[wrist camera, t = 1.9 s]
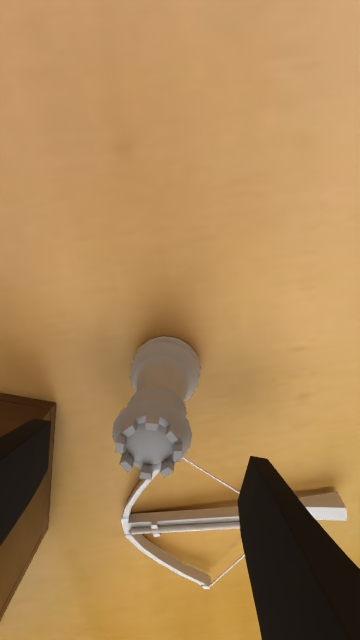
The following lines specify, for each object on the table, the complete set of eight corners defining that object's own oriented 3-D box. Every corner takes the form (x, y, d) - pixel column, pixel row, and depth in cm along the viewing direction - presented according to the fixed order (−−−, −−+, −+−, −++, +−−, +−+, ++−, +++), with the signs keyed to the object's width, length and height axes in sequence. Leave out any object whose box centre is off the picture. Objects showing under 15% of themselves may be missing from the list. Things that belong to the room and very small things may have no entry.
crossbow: (146, 567, 23) (140, 597, 21) (108, 444, 20) (98, 465, 18) (341, 560, 21) (356, 593, 19) (330, 420, 18) (346, 441, 16)
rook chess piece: (211, 380, 18) (227, 477, 10) (152, 405, 18) (125, 514, 11) (182, 322, 17) (175, 379, 9) (121, 350, 18) (67, 426, 10)
